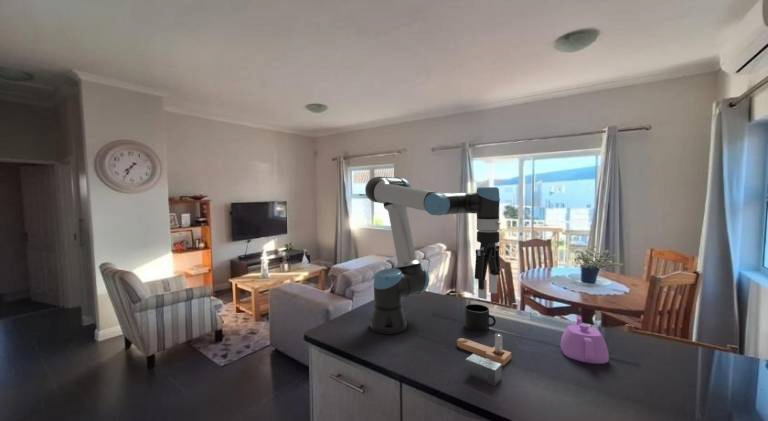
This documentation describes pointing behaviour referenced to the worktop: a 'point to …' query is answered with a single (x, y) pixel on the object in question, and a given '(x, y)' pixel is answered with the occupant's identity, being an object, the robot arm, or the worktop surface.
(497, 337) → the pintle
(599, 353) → the teapot
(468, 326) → the mug
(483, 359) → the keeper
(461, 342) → the link
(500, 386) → the worktop surface
